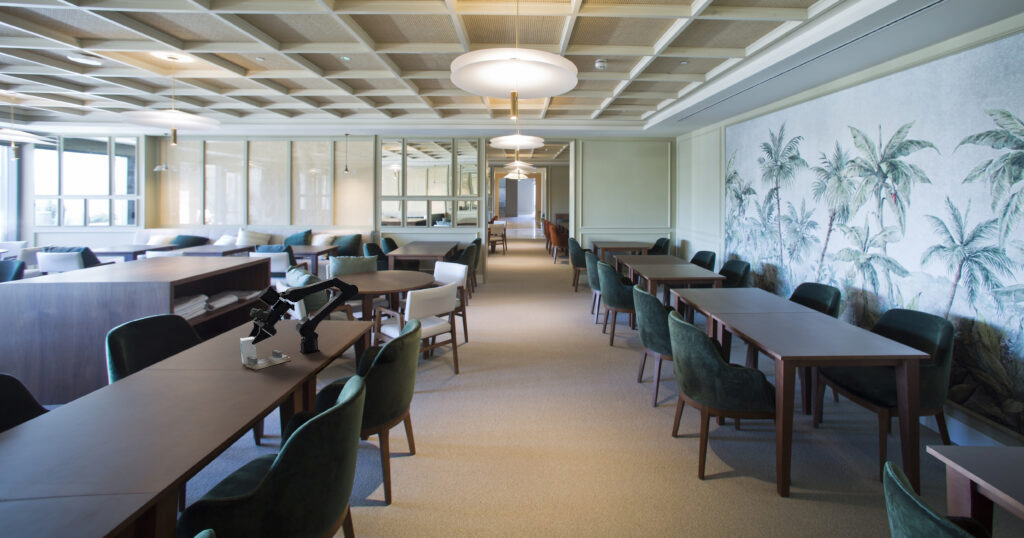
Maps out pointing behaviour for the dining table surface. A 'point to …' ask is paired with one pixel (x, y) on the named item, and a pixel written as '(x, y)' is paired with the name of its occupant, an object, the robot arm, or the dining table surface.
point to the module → (247, 348)
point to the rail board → (267, 360)
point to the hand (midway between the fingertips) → (250, 341)
